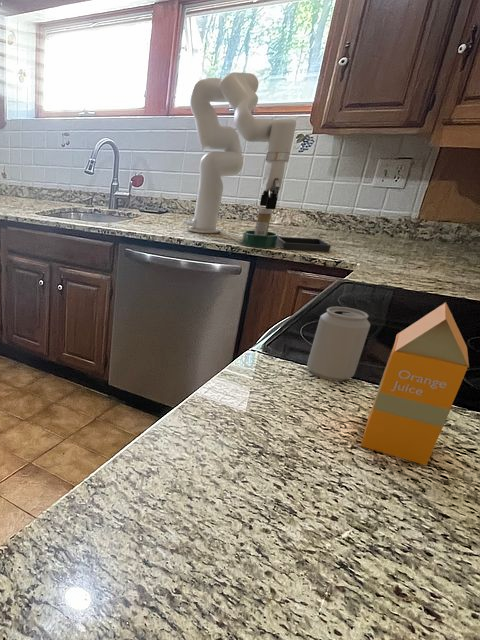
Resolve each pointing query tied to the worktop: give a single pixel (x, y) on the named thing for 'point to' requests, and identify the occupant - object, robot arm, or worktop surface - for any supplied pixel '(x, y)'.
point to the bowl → (259, 239)
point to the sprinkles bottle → (263, 221)
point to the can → (338, 343)
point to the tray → (303, 244)
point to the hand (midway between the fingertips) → (267, 207)
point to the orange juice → (418, 388)
